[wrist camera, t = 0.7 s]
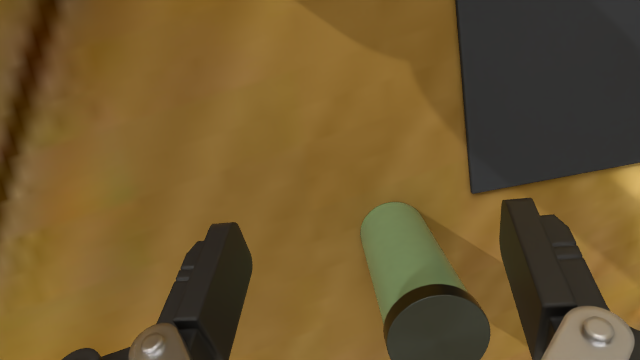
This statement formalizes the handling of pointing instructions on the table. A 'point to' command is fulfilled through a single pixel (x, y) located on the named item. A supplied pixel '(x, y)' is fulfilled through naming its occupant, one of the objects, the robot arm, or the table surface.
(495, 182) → the desk mat
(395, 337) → the green canister
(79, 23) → the table surface
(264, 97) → the table surface
